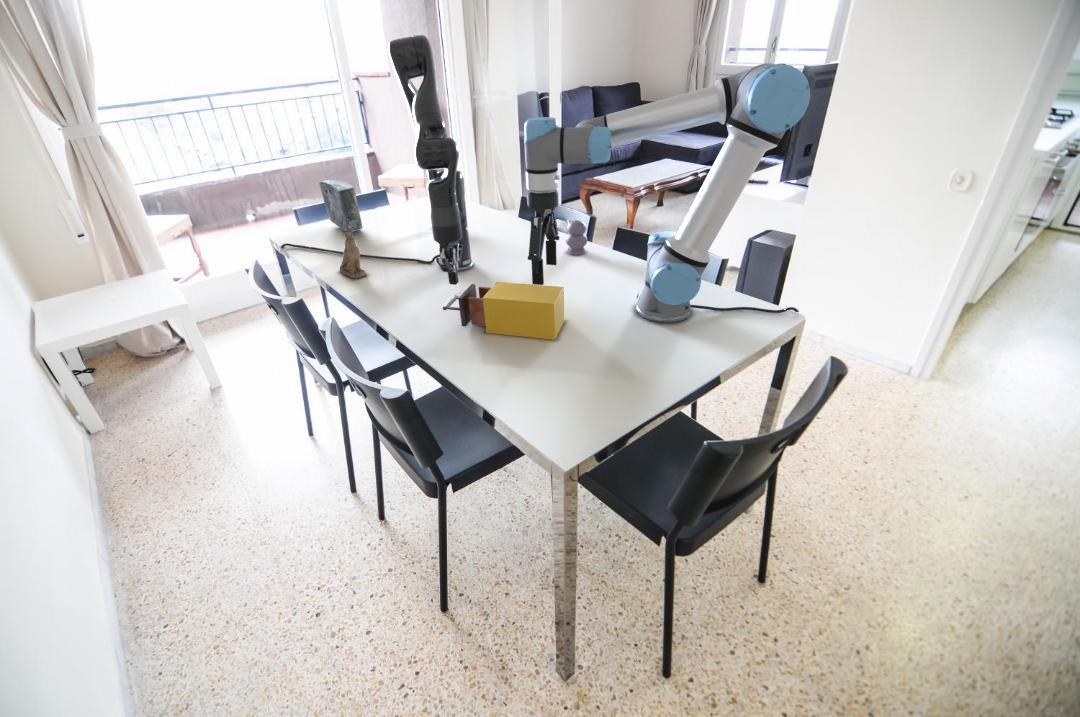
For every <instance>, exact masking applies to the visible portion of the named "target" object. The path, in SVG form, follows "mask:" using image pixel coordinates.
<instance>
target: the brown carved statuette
mask: <svg viewBox="0 0 1080 717" xmlns="http://www.w3.org/2000/svg"><path fill="white" fill-rule="evenodd" d="M343 236H344V238H346V239H345V240H344V249H343V252H344V253H343V254H342V261H341V264H340V266H339V273H341V274H343V275H344V276H347V277H350V278H352V279H356V280H357V279H360V278H362V277H366V276H367V273H366V271H365V270H363V269H362V268H361V257H360V254H361V252H360V249H359V247H358V246H357V244H356V243H357V242H356V239H355V237H354V234H353V232H352V231H350V230H348V231H346V232H345V231H344V234H343Z"/></svg>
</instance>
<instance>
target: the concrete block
mask: <svg viewBox="0 0 1080 717" xmlns="http://www.w3.org/2000/svg"><path fill="white" fill-rule="evenodd" d="M318 185H319V187H320V192H321V195H322V199H323V202H324V206H325V209H326V214H327V217H328V219H329V221H330V222H331V223H333V224H334V225H336V226H337V228H339V229H341V231H344V233H345V232H346V231H348V230H350V231H352V233H353V232H355V231H360V230H362V229H363V222H362V219H361V218H362V217H361V213H360V209H359V205H358V198H357V193H356V190H355V187H354V185H352V184H350V183H349V182H346V181H344V180H340V179H337V178H335V179H334V178H333V179H325V180H322V181H319V184H318Z"/></svg>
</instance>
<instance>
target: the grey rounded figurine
mask: <svg viewBox="0 0 1080 717" xmlns="http://www.w3.org/2000/svg"><path fill="white" fill-rule="evenodd" d="M566 221H567V227H566V228H567V229H566V230H567V233H568V234H567V235H566V237H565V243H566V245H567V246H568V247H567V253H568V254H569V255H573V256H578V255H582V254H584V253H585V247H586V245H587V243H588V237H587V235H586V234H585V233H586V230H587V226H586V224H585V223H584V222H583V221H582V220H578V219H574V220H569V219H566Z"/></svg>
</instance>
